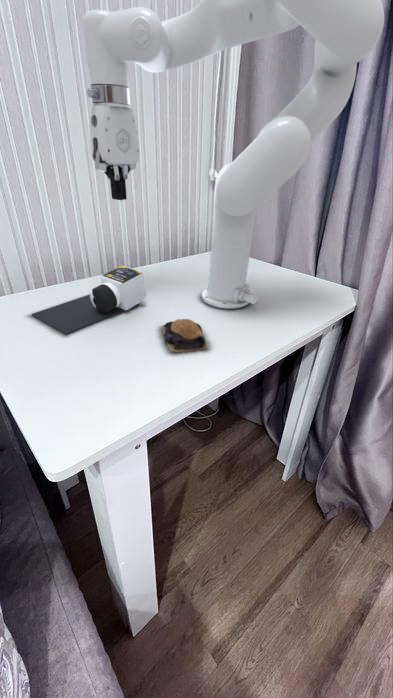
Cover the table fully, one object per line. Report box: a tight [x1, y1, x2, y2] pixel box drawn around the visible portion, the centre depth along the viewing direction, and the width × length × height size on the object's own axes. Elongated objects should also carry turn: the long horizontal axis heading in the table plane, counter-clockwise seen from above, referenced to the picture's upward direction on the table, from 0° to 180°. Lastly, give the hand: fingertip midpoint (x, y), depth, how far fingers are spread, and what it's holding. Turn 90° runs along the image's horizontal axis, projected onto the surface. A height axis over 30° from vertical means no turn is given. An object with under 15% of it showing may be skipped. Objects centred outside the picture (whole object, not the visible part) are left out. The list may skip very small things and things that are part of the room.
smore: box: [161, 318, 208, 354], centre depth 68 cm, size 11×8×4 cm
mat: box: [31, 294, 139, 336], centre depth 78 cm, size 13×20×1 cm, turn 142°
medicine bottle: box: [89, 265, 147, 313], centre depth 78 cm, size 7×7×12 cm
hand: (119, 199), depth 76 cm, fingers closed
